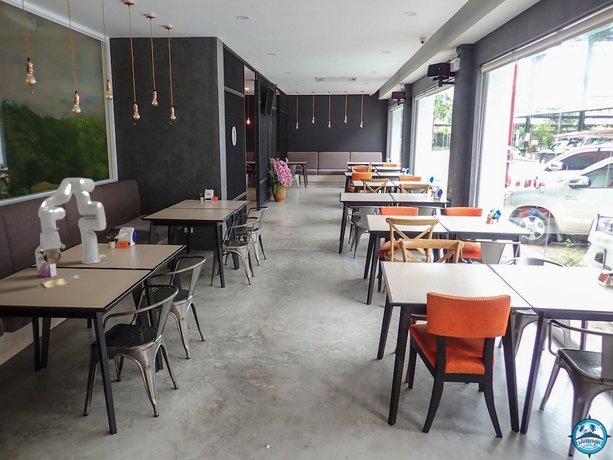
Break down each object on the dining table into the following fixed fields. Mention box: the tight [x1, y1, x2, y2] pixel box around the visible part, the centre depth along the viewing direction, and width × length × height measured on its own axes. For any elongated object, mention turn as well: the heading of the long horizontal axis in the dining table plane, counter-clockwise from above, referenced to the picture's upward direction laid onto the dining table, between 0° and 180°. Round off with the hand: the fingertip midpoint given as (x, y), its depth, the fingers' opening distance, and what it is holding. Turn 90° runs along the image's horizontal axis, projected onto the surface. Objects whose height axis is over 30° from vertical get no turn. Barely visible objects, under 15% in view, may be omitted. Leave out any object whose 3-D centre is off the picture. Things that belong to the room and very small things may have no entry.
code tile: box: [66, 273, 86, 281], centre depth 296 cm, size 9×9×1 cm
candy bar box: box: [34, 249, 58, 278], centre depth 298 cm, size 11×5×16 cm, turn 71°
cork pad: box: [41, 278, 70, 289], centre depth 282 cm, size 12×12×1 cm
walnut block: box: [46, 249, 61, 264], centre depth 279 cm, size 6×6×8 cm
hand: (52, 260), depth 279 cm, fingers closed on walnut block, 6 cm apart
